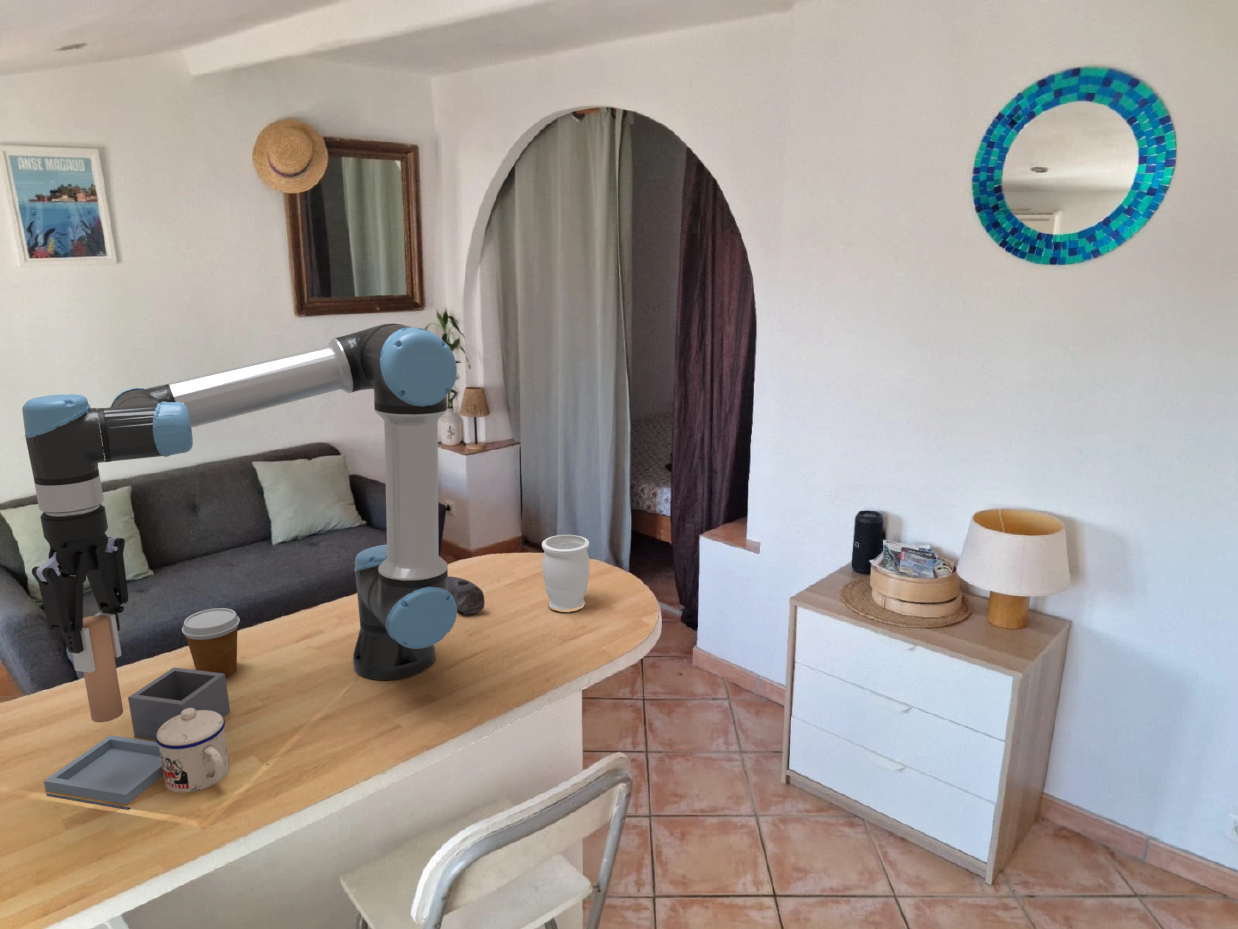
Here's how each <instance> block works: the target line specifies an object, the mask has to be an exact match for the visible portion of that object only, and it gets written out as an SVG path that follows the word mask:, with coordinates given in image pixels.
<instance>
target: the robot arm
mask: <svg viewBox="0 0 1238 929" xmlns="http://www.w3.org/2000/svg"><path fill="white" fill-rule="evenodd" d="M457 372H458V371H457V362H456V358H455V355H454V353H453V351H452V349H451V347H450V346H449V345H448V344H447V343H446V341H445V340H443V339H442V338H441V337H440V336H438V335H436V334H435V333H433V332H431V331H430V330H427V329H425V328H422V327H415V326H410V325H404V324H401V323H383V324H380V325H375V326H372V327H370V328H366V329H363V330H359V331H356V332H352V333H349V334H345V335H342V336H338V337H333V338H331V339H330V341H329V343H328V344H327V345H326V346H322V347H318V348H313V349H309V350H305V351H300V352H297V353H292V354H287V355H283V356H279V357H275V358H271V359H267V360H262V361H257V362H254V363H250V364H246V365H241V366H237V367H233V368H228V369H224V370H221V371H216V372H215V371H214V372H212V373H207V374H203V375H199V376H194V377H192V378H187V379H182V380H178V381H174V382H170V383H167V384H162V385H157V386H151V387H148V388H143V387H141V388H140V387H134V388H133V387H132V388H129V389H126V390H123V391H121V392H120V393H119V394H117V395H116V396H115V398H114V399H113V401H112V402H111V404H110V407H91V405H90V404H89V401H88V398H87V397H86V396H84V395H82V394H77V393H75V394H73V393H69V394H51V395H43V396H39V397H33V398H30V399H29V400H27V401H26V402H25V403H24V404H23V405H22V409H21V410H22V419H23V426H24V437H25V438H24V439H25V442H26V447H27V451H28V457H29V462H30V466H31V472H32V477H33V483H34V488H35V493H36V499H37V506H38V510H40V511H41V512H42V513H41V515H40V522H41V523H40V524H41V528H42V534H43V538H44V539H45V541H46V542H47V543H48V544H49V551H48V552H49V553H48V560H47V561H46V562H44V563H43V564H42V566H36V565H35V566H34V567H33V568H32V569H31V575H32V576H33V577H34V579H35V580H36V582H37V583H38V586H39V592H40V596H41V600H42V605H43V609H44V613H45V617H46V623H47V627H48V630H49V632H51V633H59V634H64V635H65V640H66V647H67V650H68V652H69V653H70V654H72V660H73V664H74V671H76V672H82V673H83V672H89V673H92V672H94V671H95V670H96V669H95V663H94V657H93V651H92V646H91V640H90V634H89V628H83V618H84V583H85V582H86V581H87V580H88V583H89V585H90V586H89V587H90V588H91V591H92V593H93V596H94V599H95V601H96V604H97V607H98V610H99V611H101V612H97V613H95V615H104V616H107V617H108V621H109V628H110V634H111V640H112V646H113V652H114V658H119V657H121V656H122V650H121V643H120V638H119V632H120V631H121V630H120V628H121V625H120V619H119V614H121V613H123V612H124V610H125V606H122V605H123V604H127V603H128V602H129V591H128V583H127V575H126V566H125V558H124V550H125V544H126V540H125V538H123V537H115V536H114V537H112V536H108V535H107V534H106V532H107V531H108V528H109V524H108V518H107V512H106V506H104V505H102V504H103V503H104V501H105V500H104V494H103V488H102V482H101V476H100V469H99V463H100V464H101V463H110V462H120V461H128V460H130V461H131V460H137V459H139V460H140V459H148V458H157V457H159V458H160V457H165V458H167V457H170V456H174V455H178V454H185V453H189V452H190V451H191V450H192V448H193V445H194V444H193V443H194V441H193V440H194V439H193V429H192V428H196V427H200V426H203V425H207V424H211V423H215V422H220V421H222V420H226V419H230V418H235V417H238V416H242V415H246V414H250V413H255V412H259V411H262V410H266V409H269V408H273V407H276V406H277V407H278V406H281V405H285V404H289V403H293V402H296V401H300V400H304V399H307V398H311V397H312V398H313V397H316V396H319V395H324V394H328V393H331V392H335V391H339V390H341V391H343V392H346V393H347V394H351V393H355V392H360V391H364V390H373V396H374V397H373V401H374V402H373V404H374V412H375V413H376V414H377V415H378V416H380V418H382V420H383V424H384V426H383V427H384V428H383V429H384V459H385V461H384V463H385V464H384V466H385V467H384V468H385V469H384V470H385V473H384V474H385V508H386V513H385V514H386V516H385V517H386V544H382V545H381V544H380V545H376V546H372V547H368V548H366V549H363V550H362V551H359V553H358V554H356V556H355V558H354V570H353V571H354V572H355V583H356V593H357V594H356V595H357V604H358V606H357V607H358V616H359V627H360V628H359V631H358V635H357V638H356V643H355V647H354V650H353V656H352V659H353V668H354V670H355V672H356V673H357V674H358V675H359V676H361V677H364V678H366V679H370V680H376V681H392V680H400V679H404V678H409V677H411V676H415V675H417V674H419V673H422V672H423V671H425V670H427V669H429V667H431V666H432V664H433V663H434V661H435V659H436V651H435V649H436V648H435V645H437V643H439V642H441V641H442V640H443V639H444V637H446V635H447V634H449V633H450V632H451V630H452V629H453V627H454V625H455V623H456V619H457V615H458V611H457V606H456V603H455V600H454V597H453V596H452V595H451V593H449V592H448V577H449V575H448V574H449V572H448V571H449V570H448V568H449V566H448V563H447V561H446V560H444V559H443V557H441V556H440V555H439V554H440V553H439V546H440V545H439V446H438V444H439V439H438V438H439V435H438V434H439V433H438V432H439V430H438V428H439V427H438V425H439V420H440V419H441V417H442V416H444V415H445V414H446V413H447V411H448V407H447V406H448V394H449V393H450V391H452V389H453V388H454V386H455V383H456V379H457V375H458V374H457Z"/></svg>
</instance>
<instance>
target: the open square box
mask: <svg viewBox="0 0 1238 929" xmlns="http://www.w3.org/2000/svg"><path fill="white" fill-rule="evenodd" d="M127 701H128V705H129V712H130V717H131V723H132V724H131V726H132V729H133V730H132V731H133V736H134V737H136V738H140V739H141V738H142V739H147V740H149V739H150V740H153V741H154V740H155V741H156V735H157V732H158V730H159V728H160V727H161V726H162V725H163V724H164V723H165V722H167V721H168V720H170V719H171V718H173V717H175V716H178V715H180V714H181V712H182V711H183V710H184V709H187V708H194V709H195V710H196V711H197V710H210V711H214V712H217V713H219V714H220V715H221V716H222V717H223V718H224V717H225V716H226V715H227V714H229V713H230V712H231V709H230V701H229V694H228V687H227V678H226V677H225V674H223V673H215V672H207V671H199V670H196V669H191V668H190V669H189V668H182V667H181V668H180V667H172V668H170V669H169V670H167V671H165V673H163V674H161V675H159V676H158V677H157V678H155V679H154V680H152V681H151V682H149V683H148V684H146V685H144V686H143V687H141V688H140V689H139V690H137V691H135V692H133V693H132V694H130V696H128V697H127Z"/></svg>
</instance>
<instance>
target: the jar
mask: <svg viewBox="0 0 1238 929" xmlns="http://www.w3.org/2000/svg"><path fill="white" fill-rule="evenodd" d="M541 548H542V550H543V551H544V552H543V555H542V564H541V566H542V567H541V568H542V569H541V570H542V576H543V577H542V578H543V582H544V588H545V591H546V594H547V597H548V599H549V600H548V602H549V606H550V607H553V608H556V609H563V610H567V609H573V608H577V607H581V606H582V605H583V603H584V601H585V599H584V598H585V595H586V593H587V591H588V590H587V589H588V583H589V578H590V558H589V557H590V556H589V553H588V549H589V548H590V541H589V540H588V538H586V537H583V536H581V535H575V534H557V535H554V536H553V535H552V536H549V537H547V538H545V539H544V540H543V541H542V542H541Z"/></svg>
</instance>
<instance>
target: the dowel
mask: <svg viewBox="0 0 1238 929" xmlns="http://www.w3.org/2000/svg"><path fill="white" fill-rule="evenodd" d="M83 628H89V634H90V640H91V646H92V651H93V657H94V663H95V669H96V670H95V671H94V672H92V673H89V672H82V673H83V678H84V682H85V689H86V696H87V701H88V707H89V712H90V717H91V721H92V722H94V723H107V722H111V721H114V720H115V719H118V718H119V717H121V716H122V715H123V714H124V708H123V702H122V701H123V700H122V696H121V694H122V693H121V688H120V683H119V678H118V677H119V676H118V672H117V666H116V659H115V658H116V657H114V652H113V646H112V640H111V634H110V628H109V621H108V617H107V616H104V615H96V614H94V615H90V616H86V617H83Z"/></svg>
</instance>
